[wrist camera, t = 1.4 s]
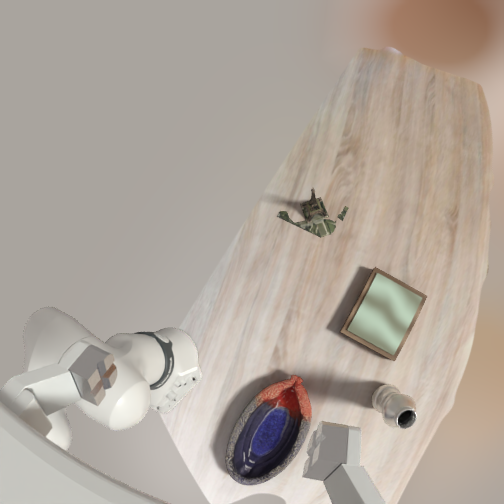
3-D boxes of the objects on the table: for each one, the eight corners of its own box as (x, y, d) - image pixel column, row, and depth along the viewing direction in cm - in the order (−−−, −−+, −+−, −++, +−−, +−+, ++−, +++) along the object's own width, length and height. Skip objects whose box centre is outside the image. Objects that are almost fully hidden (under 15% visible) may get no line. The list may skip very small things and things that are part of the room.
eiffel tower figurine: (275, 217, 77) (267, 195, 64) (294, 183, 78) (289, 156, 65) (332, 243, 73) (334, 225, 60) (349, 207, 74) (354, 183, 61)
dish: (214, 461, 65) (207, 468, 60) (273, 360, 69) (269, 362, 64) (268, 489, 60) (265, 499, 56) (333, 390, 64) (334, 395, 59)
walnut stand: (391, 360, 63) (395, 361, 59) (339, 331, 67) (340, 331, 64) (423, 297, 64) (427, 295, 61) (373, 269, 69) (375, 266, 65)
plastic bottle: (364, 396, 62) (380, 420, 43) (386, 376, 62) (411, 392, 43) (380, 415, 60) (401, 443, 41) (403, 395, 60) (431, 416, 41)
